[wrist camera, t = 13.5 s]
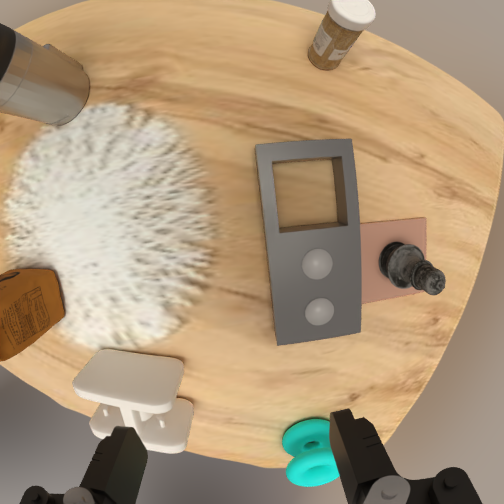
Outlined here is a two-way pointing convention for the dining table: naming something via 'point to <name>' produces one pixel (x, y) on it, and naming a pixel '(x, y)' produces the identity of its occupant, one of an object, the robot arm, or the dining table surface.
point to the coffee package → (27, 308)
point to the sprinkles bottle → (340, 31)
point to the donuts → (310, 453)
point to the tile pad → (371, 247)
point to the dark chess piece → (410, 268)
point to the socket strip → (313, 249)
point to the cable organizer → (137, 397)
